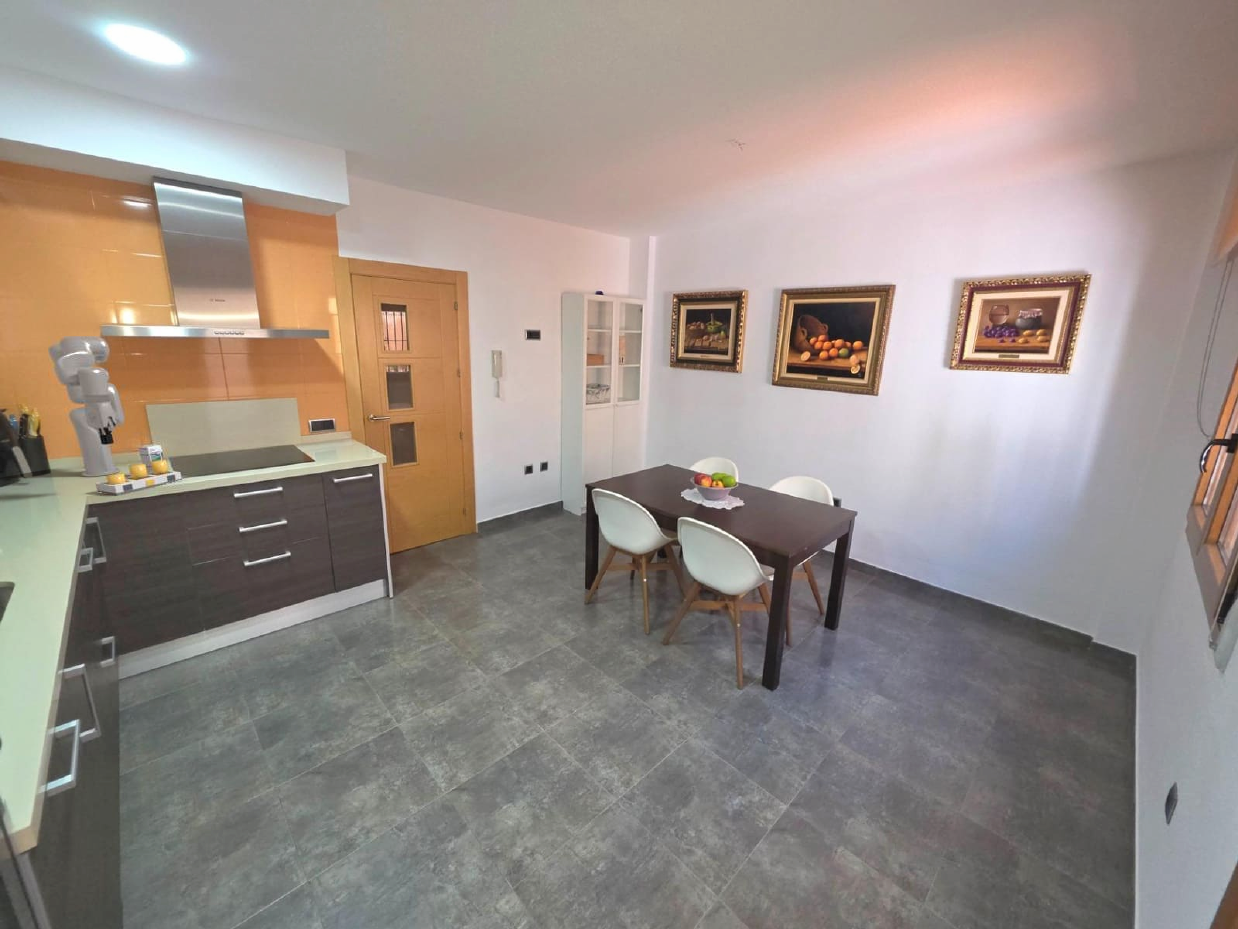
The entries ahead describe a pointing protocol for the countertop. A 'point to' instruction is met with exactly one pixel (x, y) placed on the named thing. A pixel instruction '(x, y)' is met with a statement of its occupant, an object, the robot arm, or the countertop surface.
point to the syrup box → (150, 455)
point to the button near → (116, 479)
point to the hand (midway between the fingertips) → (107, 443)
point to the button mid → (138, 471)
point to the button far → (159, 467)
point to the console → (138, 483)
